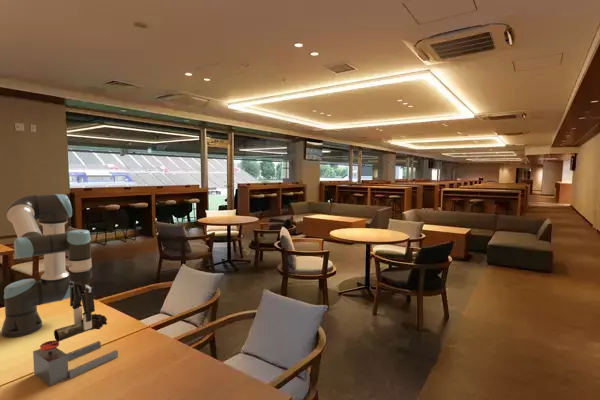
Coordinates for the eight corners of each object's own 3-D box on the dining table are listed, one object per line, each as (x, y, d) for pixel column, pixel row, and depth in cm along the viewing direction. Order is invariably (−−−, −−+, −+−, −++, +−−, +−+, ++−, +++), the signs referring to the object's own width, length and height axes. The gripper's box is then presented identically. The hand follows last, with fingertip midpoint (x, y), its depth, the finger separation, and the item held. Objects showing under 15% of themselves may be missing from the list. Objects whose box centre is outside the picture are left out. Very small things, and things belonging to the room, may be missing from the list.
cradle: (33, 373, 129) (31, 341, 128) (98, 346, 149) (97, 318, 148) (51, 387, 121) (49, 353, 120) (118, 356, 141) (117, 327, 140)
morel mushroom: (58, 344, 127) (59, 330, 126) (51, 335, 130) (52, 322, 129) (108, 328, 141) (109, 316, 140) (100, 320, 145) (101, 308, 144)
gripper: (57, 268, 136) (60, 324, 138) (82, 276, 125) (85, 336, 127) (78, 263, 142) (80, 317, 144) (103, 271, 132) (106, 329, 134)
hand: (83, 326), depth 136 cm, fingers closed on morel mushroom, 7 cm apart
